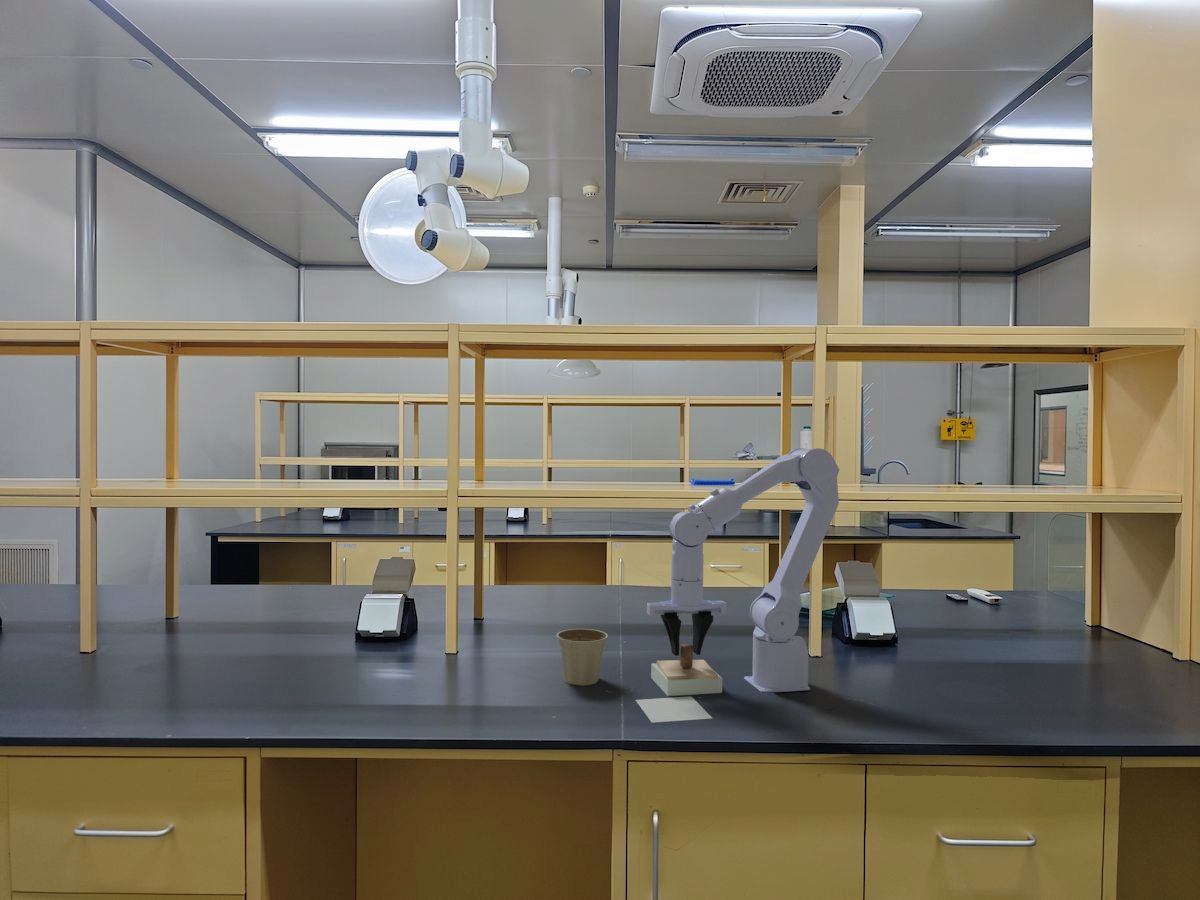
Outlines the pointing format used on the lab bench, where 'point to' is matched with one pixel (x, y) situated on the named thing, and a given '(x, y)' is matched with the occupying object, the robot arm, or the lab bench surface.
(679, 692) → the dish
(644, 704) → the mat
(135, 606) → the lab bench surface
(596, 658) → the flower pot
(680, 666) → the lid
